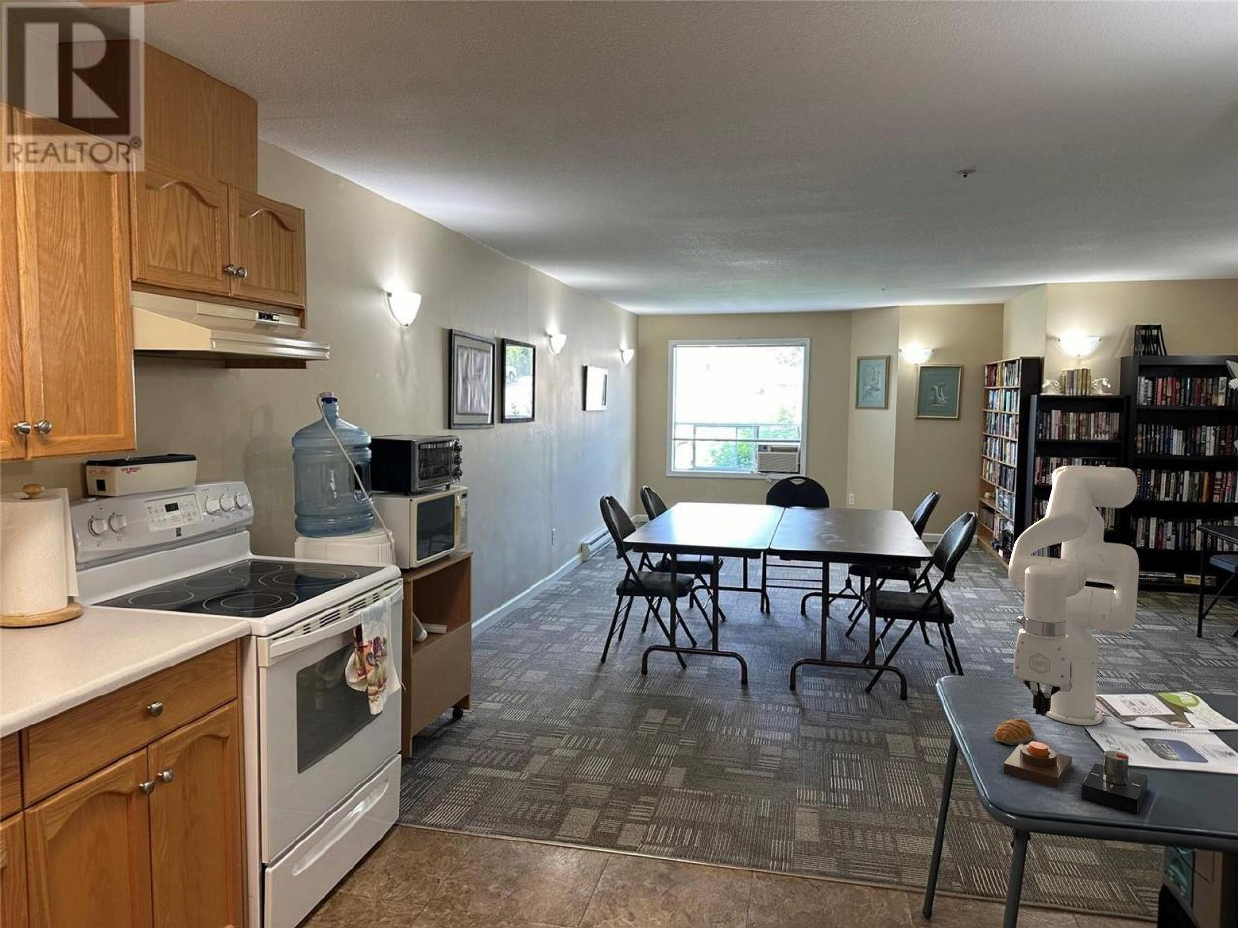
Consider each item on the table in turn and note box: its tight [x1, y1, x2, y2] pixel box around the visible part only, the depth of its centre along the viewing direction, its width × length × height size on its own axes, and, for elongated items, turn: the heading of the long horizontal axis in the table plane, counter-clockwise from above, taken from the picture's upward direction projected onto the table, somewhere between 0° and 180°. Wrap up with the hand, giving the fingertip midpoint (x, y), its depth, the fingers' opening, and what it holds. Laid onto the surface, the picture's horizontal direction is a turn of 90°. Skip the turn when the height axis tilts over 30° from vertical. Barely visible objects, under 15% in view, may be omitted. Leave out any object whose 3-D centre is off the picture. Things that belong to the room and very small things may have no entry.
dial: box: [1103, 750, 1130, 785], centre depth 157 cm, size 4×4×5 cm
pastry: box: [994, 718, 1036, 746], centre depth 182 cm, size 9×7×4 cm
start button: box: [1028, 741, 1050, 756], centre depth 167 cm, size 4×4×2 cm
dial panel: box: [1081, 762, 1149, 816], centre depth 157 cm, size 12×9×3 cm
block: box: [1003, 743, 1073, 789], centre depth 168 cm, size 12×10×4 cm
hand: (1041, 712), depth 167 cm, fingers closed
